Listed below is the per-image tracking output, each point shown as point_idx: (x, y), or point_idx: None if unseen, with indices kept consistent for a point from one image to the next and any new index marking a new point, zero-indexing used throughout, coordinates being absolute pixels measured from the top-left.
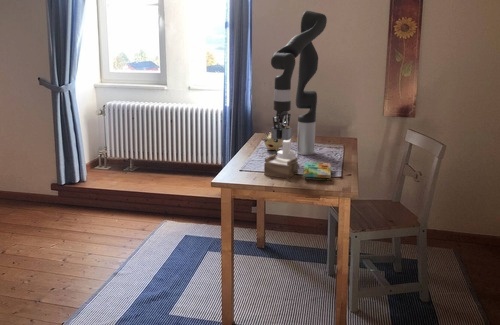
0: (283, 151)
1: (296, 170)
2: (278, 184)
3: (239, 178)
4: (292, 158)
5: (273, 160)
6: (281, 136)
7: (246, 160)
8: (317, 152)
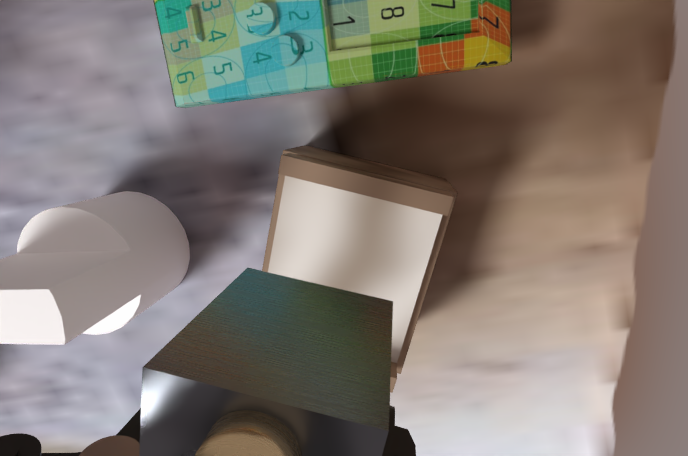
0: (128, 295)
1: (316, 150)
2: (591, 217)
3: (506, 438)
4: (132, 215)
5: None
6: None
7: None
8: None
